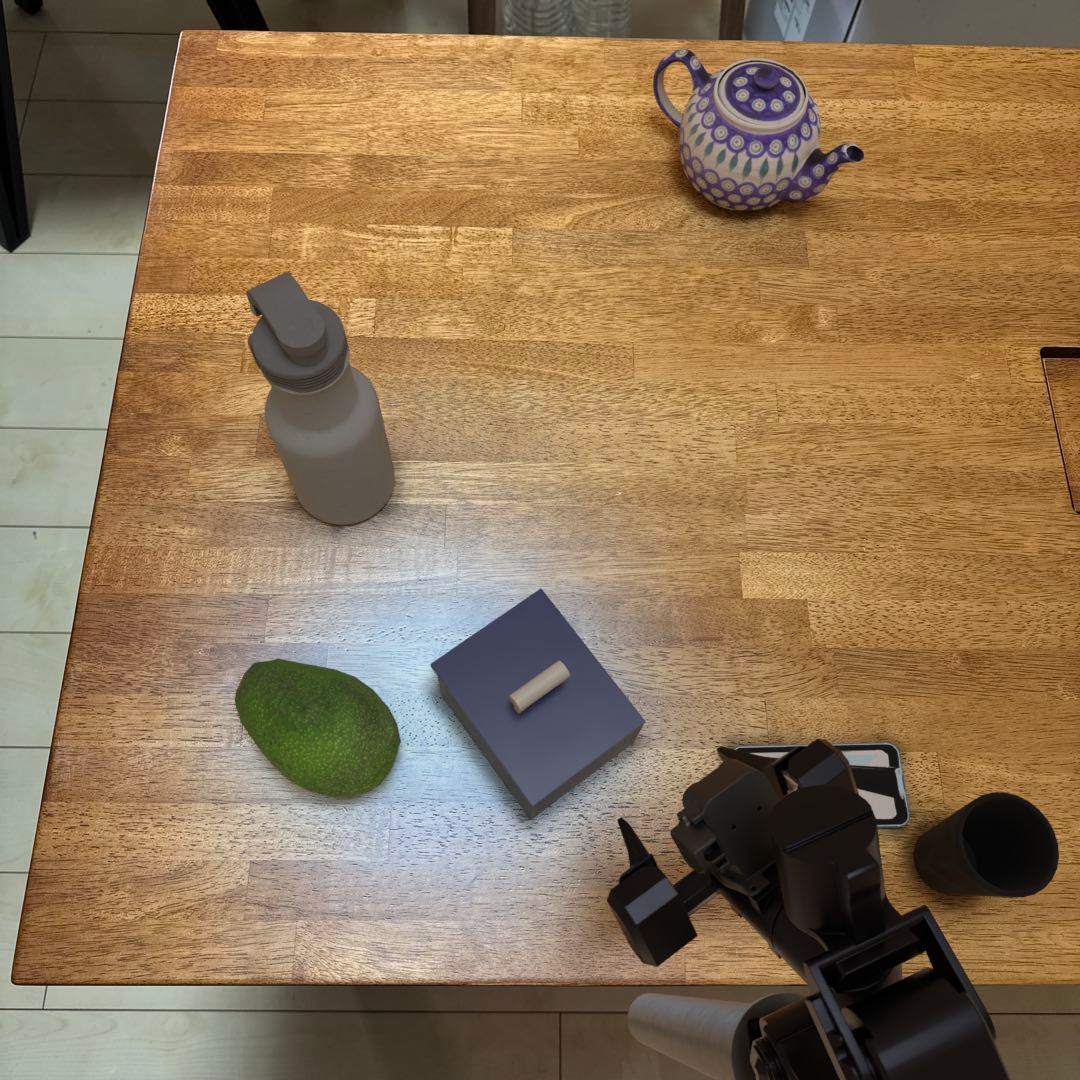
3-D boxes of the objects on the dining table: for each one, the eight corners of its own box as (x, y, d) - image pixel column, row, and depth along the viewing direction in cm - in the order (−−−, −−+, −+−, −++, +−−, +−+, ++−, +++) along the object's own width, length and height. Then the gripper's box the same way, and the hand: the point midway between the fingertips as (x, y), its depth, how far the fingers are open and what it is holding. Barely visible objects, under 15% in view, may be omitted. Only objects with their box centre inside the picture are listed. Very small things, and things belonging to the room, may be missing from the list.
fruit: (222, 730, 90) (189, 702, 81) (295, 643, 94) (272, 606, 84) (354, 832, 87) (336, 815, 78) (426, 738, 90) (417, 711, 81)
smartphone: (729, 745, 90) (898, 741, 90) (727, 747, 91) (894, 743, 91) (737, 831, 87) (911, 827, 87) (735, 832, 88) (908, 828, 88)
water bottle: (276, 465, 101) (197, 289, 75) (363, 420, 103) (315, 234, 77) (325, 545, 97) (259, 390, 72) (414, 497, 100) (381, 329, 74)
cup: (888, 879, 87) (943, 865, 76) (917, 799, 90) (975, 774, 79) (974, 924, 86) (1043, 916, 75) (1001, 841, 88) (1072, 822, 77)
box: (441, 695, 92) (436, 675, 86) (544, 624, 95) (546, 599, 89) (530, 820, 88) (532, 808, 82) (635, 741, 91) (644, 723, 85)
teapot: (610, 161, 117) (623, 52, 104) (687, 86, 122) (710, -27, 109) (791, 276, 112) (831, 178, 98) (865, 193, 117) (912, 88, 103)
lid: (430, 666, 86) (426, 651, 82) (540, 591, 89) (542, 572, 85) (532, 808, 82) (533, 799, 78) (644, 723, 85) (651, 710, 81)
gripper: (897, 740, 61) (740, 637, 74) (646, 929, 56) (527, 783, 70) (929, 861, 66) (778, 745, 79) (703, 1042, 62) (582, 887, 75)
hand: (670, 786), depth 76 cm, fingers open, 9 cm apart
